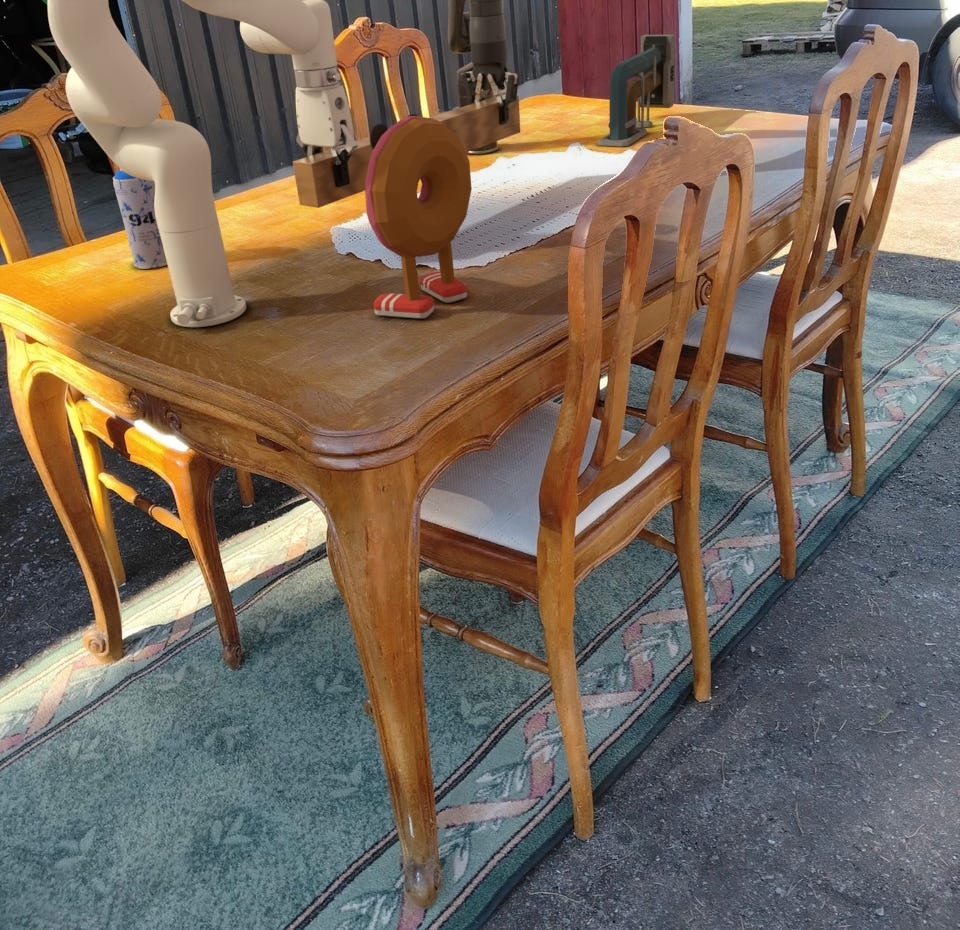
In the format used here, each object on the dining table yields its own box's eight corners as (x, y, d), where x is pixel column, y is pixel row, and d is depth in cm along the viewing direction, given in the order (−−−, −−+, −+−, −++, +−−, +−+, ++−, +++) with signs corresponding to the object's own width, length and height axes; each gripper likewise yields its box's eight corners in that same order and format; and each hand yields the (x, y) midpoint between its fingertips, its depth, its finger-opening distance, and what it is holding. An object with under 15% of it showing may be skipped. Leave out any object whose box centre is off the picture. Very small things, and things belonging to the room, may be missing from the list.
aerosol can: (133, 271, 187) (105, 166, 177) (134, 259, 194) (107, 157, 184) (174, 264, 189) (149, 160, 179) (174, 253, 195) (150, 152, 185)
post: (318, 208, 173) (311, 163, 169) (299, 205, 176) (292, 161, 172) (520, 132, 215) (518, 95, 211) (502, 130, 217) (500, 94, 213)
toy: (445, 278, 171) (428, 100, 155) (490, 288, 165) (476, 104, 149) (359, 319, 157) (331, 128, 142) (404, 331, 151) (380, 133, 136)
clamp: (627, 146, 245) (627, 56, 234) (595, 145, 249) (593, 56, 238) (672, 117, 270) (675, 34, 260) (643, 116, 274) (644, 34, 263)
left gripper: (367, 77, 166) (379, 183, 175) (299, 73, 176) (314, 174, 185) (336, 84, 161) (350, 194, 170) (268, 80, 171) (285, 184, 180)
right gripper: (526, 36, 200) (530, 121, 209) (471, 35, 208) (477, 117, 216) (505, 41, 195) (509, 129, 204) (450, 40, 203) (456, 124, 212)
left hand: (331, 182), depth 177 cm, fingers closed on post, 4 cm apart
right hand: (493, 122), depth 210 cm, fingers closed on post, 5 cm apart
